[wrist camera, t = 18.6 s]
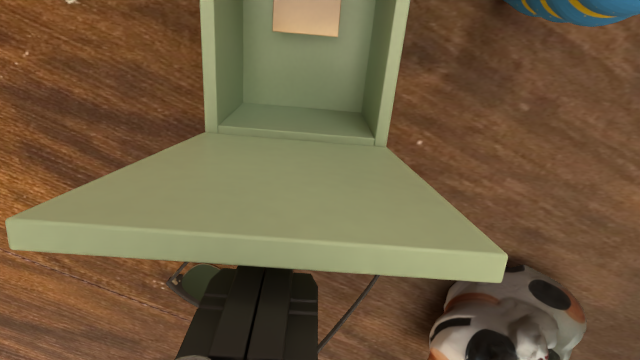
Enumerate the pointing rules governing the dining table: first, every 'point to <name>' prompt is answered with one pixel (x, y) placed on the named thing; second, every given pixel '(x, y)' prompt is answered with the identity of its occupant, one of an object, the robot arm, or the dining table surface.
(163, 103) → the dining table surface
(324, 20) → the block
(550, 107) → the dining table surface
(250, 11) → the box
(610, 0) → the ornament
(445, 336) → the lucky cat figurine
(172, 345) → the dining table surface
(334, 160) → the lid
